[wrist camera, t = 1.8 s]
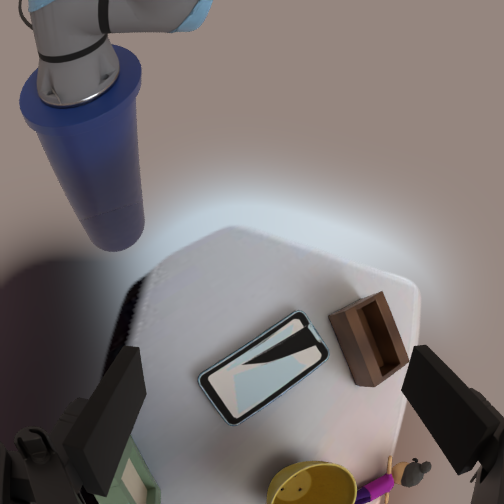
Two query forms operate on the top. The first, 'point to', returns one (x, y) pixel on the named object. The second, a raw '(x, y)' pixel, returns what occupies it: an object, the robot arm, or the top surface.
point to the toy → (393, 480)
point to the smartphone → (264, 368)
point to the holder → (369, 340)
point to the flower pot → (313, 484)
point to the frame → (132, 481)
